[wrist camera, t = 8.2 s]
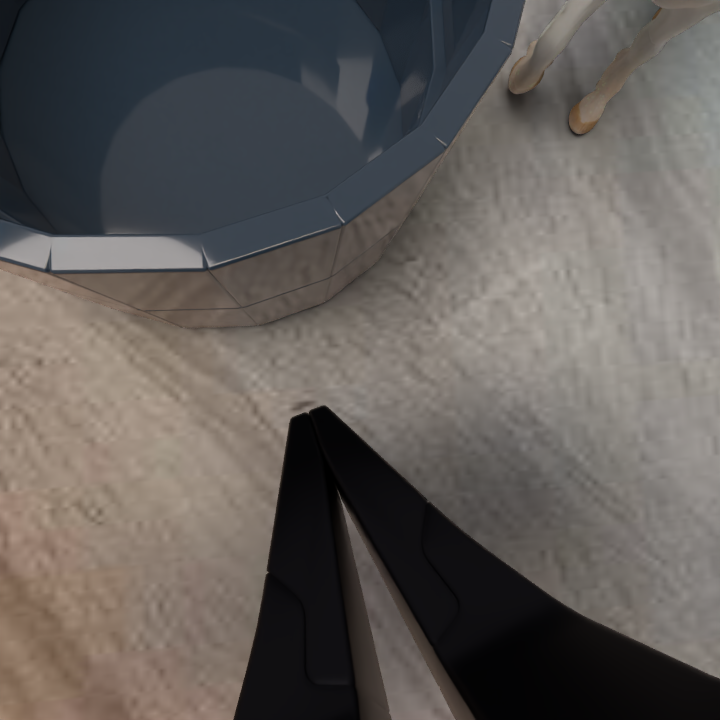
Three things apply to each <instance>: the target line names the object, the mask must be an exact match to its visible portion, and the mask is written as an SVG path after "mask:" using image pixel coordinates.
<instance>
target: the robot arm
mask: <svg viewBox="0 0 720 720" xmlns="http://www.w3.org/2000/svg"><path fill="white" fill-rule="evenodd" d="M337 489H338V490H337ZM338 492H339V493H338ZM339 494H340V496H339ZM340 497H341V499H342V501H343V503H344V505H345V507H346V509H347V511H348V513H349V515H350V517H351V519H352V521H353V523H354V524H355V526H356V528H357V530H358V532H359V534H360V536H361V538H362V540H363V542H364V544H365V546H366V548H367V550H368V551H369V553H370V555H371V557H372V559H373V561H374V563H375V565H376V567H377V569H378V571H379V573H380V575H381V577H382V578H383V580H384V582H385V584H386V586H387V588H388V590H389V592H390V594H391V596H392V598H393V600H394V602H395V604H396V605H397V607H398V609H399V611H400V613H401V615H402V617H403V619H404V621H405V623H406V625H407V627H408V629H409V631H410V632H411V634H412V636H413V638H414V640H415V642H416V644H417V646H418V648H419V650H420V652H421V654H422V656H423V658H424V659H425V661H426V663H427V665H428V667H429V669H430V671H431V673H432V675H433V677H434V679H435V681H436V683H437V685H438V686H439V687H440V690H441V692H442V694H443V696H444V698H445V700H446V702H447V704H448V706H449V708H450V710H451V712H452V713H453V715H454V717H455V719H456V720H720V679H719V678H717V677H714V676H712V675H709V674H707V673H705V672H703V671H701V670H698V669H696V668H694V667H692V666H690V665H688V664H685V663H683V662H681V661H679V660H677V659H675V658H673V657H670V656H668V655H666V654H664V653H662V652H660V651H658V650H655V649H653V648H651V647H649V646H647V645H645V644H643V643H640V642H638V641H636V640H634V639H632V638H630V637H627V636H625V635H623V634H621V633H619V632H617V631H615V630H612V629H610V628H608V627H606V626H604V625H602V624H600V623H597V622H595V621H593V620H591V619H589V618H587V617H585V616H583V615H581V614H579V613H578V612H576V611H574V610H572V609H571V608H569V607H567V606H566V605H564V604H563V603H561V602H560V601H558V600H556V599H555V598H553V597H552V596H551V595H549V594H548V593H546V592H545V591H543V590H542V589H541V588H539V587H538V586H536V585H535V584H534V583H532V582H531V581H530V580H528V579H527V578H525V577H524V576H523V575H521V574H520V573H518V572H517V571H516V570H514V569H513V568H512V567H510V566H509V565H507V564H506V563H505V562H503V561H502V560H501V559H499V558H498V557H496V556H495V555H494V554H492V553H491V552H490V551H488V550H487V549H485V548H484V547H483V546H482V545H480V544H479V543H478V542H476V541H475V540H474V539H473V538H471V537H470V536H469V535H467V534H466V533H465V532H464V531H462V530H461V529H460V528H459V527H458V526H457V525H455V524H454V523H453V522H452V521H451V520H450V519H449V518H447V517H446V516H445V515H444V514H443V513H442V512H441V511H440V510H438V509H437V508H436V507H435V506H434V505H433V504H432V503H431V502H428V501H427V499H426V498H425V497H424V496H423V495H422V494H421V493H420V492H419V491H418V490H417V489H416V488H414V487H413V486H412V485H411V484H410V483H409V482H408V481H407V480H406V479H405V478H404V477H403V476H401V475H400V474H399V473H398V472H397V471H396V470H395V469H394V468H393V467H392V466H391V465H390V464H389V463H387V462H386V461H385V460H384V459H383V458H382V457H381V456H380V455H379V454H378V453H377V452H376V451H374V450H373V449H372V448H371V447H370V446H369V445H368V444H367V443H366V442H365V441H364V440H363V439H362V438H360V437H359V436H358V435H357V434H356V433H355V432H354V431H353V430H352V429H351V428H350V427H349V426H347V425H346V424H345V423H344V422H343V421H342V420H341V419H340V418H339V417H338V416H337V415H336V414H335V413H333V412H332V411H331V410H330V409H329V408H328V407H327V406H325V405H323V406H320V407H317V408H315V409H312V410H310V411H309V414H308V413H306V412H305V413H302V414H299V415H297V416H294V417H292V418H291V419H290V423H289V429H288V436H287V442H286V449H285V455H284V462H283V468H282V475H281V481H280V488H279V494H278V500H277V507H276V513H275V520H274V526H273V533H272V539H271V546H270V552H269V559H268V565H267V571H268V572H269V573H267V574H266V577H265V583H264V590H263V596H262V602H261V607H260V613H259V618H258V623H257V628H256V633H255V637H254V641H253V645H252V650H251V654H250V658H249V662H248V666H247V670H246V674H245V677H244V681H243V685H242V689H241V693H240V697H239V700H238V704H237V708H236V712H235V716H234V719H233V720H392V719H391V715H390V713H389V706H388V702H387V697H386V693H385V689H384V684H383V680H382V676H381V671H380V667H379V663H378V658H377V654H376V650H375V645H374V641H373V637H372V632H371V628H370V624H369V619H368V615H367V611H366V606H365V602H364V598H363V593H362V589H361V585H360V580H359V576H358V572H357V567H356V563H355V559H354V554H353V550H352V546H351V541H350V537H349V533H348V528H347V524H346V520H345V515H344V511H343V507H342V503H341V499H340Z"/></svg>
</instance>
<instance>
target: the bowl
mask: <svg viewBox="0 0 720 720" xmlns="http://www.w3.org/2000/svg"><path fill="white" fill-rule="evenodd" d="M524 4H525V0H0V269H1V270H3V271H6V272H9V273H12V274H15V275H18V276H20V277H23V278H26V279H29V280H32V281H35V282H38V283H41V284H43V285H46V286H49V287H52V288H55V289H57V290H60V291H63V292H66V293H69V294H72V295H75V296H77V297H80V298H83V299H86V300H89V301H92V302H94V303H97V304H100V305H103V306H106V307H109V308H111V309H115V310H119V311H122V312H126V313H130V314H133V315H137V316H141V317H144V318H148V319H152V320H155V321H159V322H163V323H166V324H170V325H174V326H177V327H181V328H183V327H185V328H207V327H237V326H257V325H262V324H265V323H268V322H271V321H274V320H277V319H279V318H282V317H285V316H288V315H291V314H294V313H296V312H299V311H302V310H305V309H308V308H311V307H313V306H316V305H319V304H322V303H324V301H327V300H328V299H330V298H331V297H332V296H334V295H335V294H336V293H338V292H339V291H340V290H341V289H343V288H344V287H345V286H347V285H348V284H349V283H350V282H352V281H353V280H354V279H356V278H357V277H358V276H360V275H361V274H362V273H363V272H365V271H366V270H367V269H369V268H370V267H371V266H372V265H374V264H375V263H376V262H377V261H378V260H379V259H380V257H381V256H382V254H383V253H384V251H385V250H386V248H387V247H388V245H389V244H390V242H391V241H392V239H393V238H394V236H395V235H396V233H397V232H398V230H399V229H400V227H401V226H402V224H403V223H404V221H405V220H406V218H407V217H408V215H409V214H410V212H411V211H412V209H413V208H414V206H415V204H416V203H417V201H418V200H419V198H420V197H421V195H422V193H423V192H424V190H425V189H426V187H427V185H428V184H429V182H430V181H431V179H432V178H433V176H434V174H435V173H436V171H437V170H438V168H439V167H440V165H441V163H442V162H443V160H444V159H445V157H446V156H447V154H448V152H449V151H450V149H451V148H452V146H453V145H454V143H455V141H456V140H457V138H458V137H459V135H460V134H461V132H462V130H463V129H464V127H465V126H466V124H467V122H468V121H469V119H470V118H471V116H472V115H473V113H474V111H475V110H476V108H477V107H478V105H479V104H480V102H481V100H482V99H483V97H484V96H485V94H486V93H487V91H488V89H489V88H490V86H491V85H492V83H493V81H494V80H495V78H496V77H497V75H498V74H499V72H500V70H501V69H502V67H503V66H504V64H505V63H506V61H507V59H508V58H509V56H510V55H511V52H512V49H513V48H514V44H515V40H516V36H517V32H518V28H519V24H520V20H521V16H522V12H523V8H524Z"/></svg>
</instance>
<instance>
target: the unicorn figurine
mask: <svg viewBox="0 0 720 720" xmlns="http://www.w3.org/2000/svg"><path fill="white" fill-rule="evenodd" d="M606 1H607V0H567V1H566V3H565V4H564V5H563V7H562V8H561V10H560V11H559V12H558V13H557V15H556V16H555V17H554V18H553V19H552V21H551V22H550V23H549V24H548V26H547V27H546V28H545V29H544V31H543V32H542V34H541V35H540V36H539V38H538V40H535V41H533V42H532V43H531V44H530V45H529V47H528V50H527V55H526V56H524V57H522V58H520V59H519V60H518V61H517V62H516V63H515V65H514V66H513V68H512V70H511V73H510V77H509V82H508V85H509V89H510V91H511V92H513V93H514V94H522V93H525V92H527V91H529V90H531V89H533V88H534V87H535V86H537V85H538V84H539V83H540V81H541V79H542V77H543V75H544V70H545V69H546V68H547V67H549V66H550V65H551V64H552V62H553V61H554V59H555V58H556V57H557V56H558V55H559V54H560V53H561V52H562V51H563V50H564V48H565V47H566V46H567V45H568V43H569V42H570V40H571V39H572V37H573V36H574V34H575V33H576V31H577V30H578V29H579V27H580V26H581V25H582V23H583V22H584V21H585V20H586V19H587V18H588V17H589V16H590V15H592V14H593V13H594V12H595V11H596V10H597V9H598V8H599V7H600V6H601V5H602V4H604V3H605V2H606ZM652 1H653V3H654V4H656V5H657V6H659V7H661V8H660V9H659V10H658V11H657V12H656V14H655V15H654V17H653V18H652V21H650V22H649V23H647V24H646V25H645V26H644V27H643V28H642V29H641V30H640V32H639V33H638V35H637V36H636V38H635V39H634V41H633V43H632V45H631V47H630V48H624V49H622V50H621V51H620V52H618V53H617V55H616V57H615V60H614V61H613V62H612V63H611V64H610V65H609V67H608V68H607V69H606V70H605V72H604V73H603V75H602V77H601V80H599V81H598V83H597V84H596V90H595V91H594V92H592V93H589V94H588V95H586V96H585V97H584V98H583V99H582V101H580V102H579V103H578V104H576V105H575V106H574V107H573V108H572V110H571V112H570V114H569V125H570V128H571V129H572V131H573V132H575V133H576V134H584V133H587V132H589V131H590V130H591V129H592V128H593V127H594V126H595V124H596V123H597V121H598V120H599V118H600V117H601V115H602V114H603V111H604V109H605V106H606V104H607V102H608V101H609V100H610V98H612V97H613V96H614V95H615V94H616V93H618V91H619V90H620V89H621V88H622V87H623V85H624V83H625V81H626V79H627V78H628V77H629V76H630V75H631V74H632V72H633V71H634V70H636V69H637V68H638V67H639V66H640V65H642V64H644V63H645V62H647V61H649V60H650V59H652V58H653V57H655V56H656V55H657V54H658V53H659V52H660V51H661V50H662V48H663V47H664V46H665V44H666V43H667V41H668V40H669V39H671V38H673V37H675V36H677V35H679V34H681V33H682V32H684V31H686V30H687V29H689V28H691V27H692V26H694V25H695V24H697V23H698V22H700V21H701V20H703V19H704V18H706V17H707V16H709V15H711V14H713V13H715V12H718V11H720V0H652Z"/></svg>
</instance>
